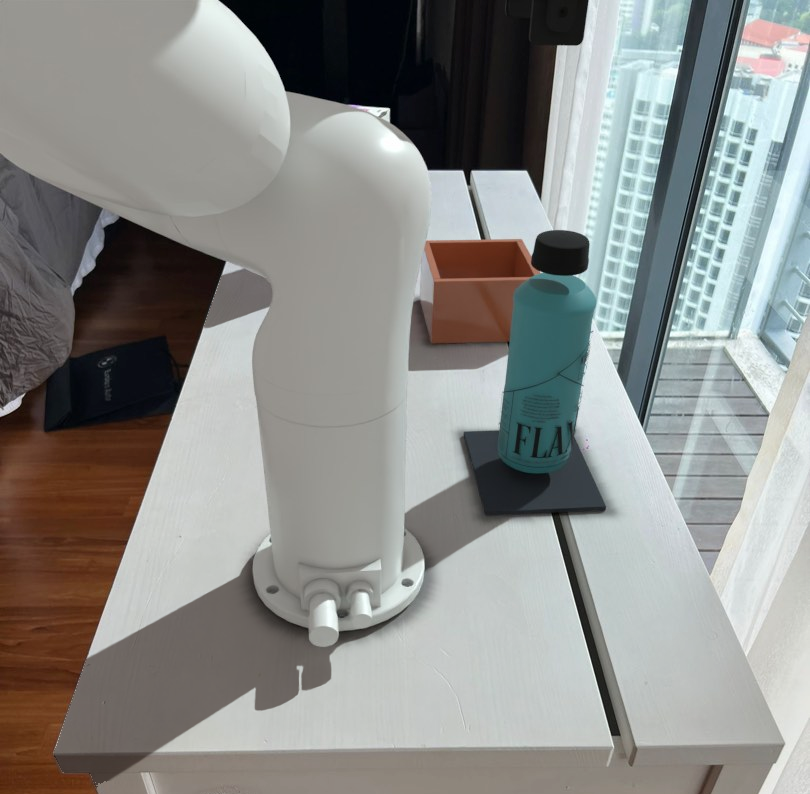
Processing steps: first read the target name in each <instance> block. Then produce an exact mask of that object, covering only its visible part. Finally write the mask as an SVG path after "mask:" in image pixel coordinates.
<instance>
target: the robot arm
mask: <svg viewBox="0 0 810 794" xmlns="http://www.w3.org/2000/svg"><path fill="white" fill-rule="evenodd" d="M589 2H590V1H589V0H505V2H504V3H505V4H504V13H505V15H506V16H507V17H508V18H510V19H529V20H530V21H529V30H528V40H529V42H530V43H531V44H532V45H534V46H564V47H565V46H570V47H571V46H572V47H573V46H574V47H576V46H580V45H581V44H583V41H584V38H585V31H586V23H587V18H588V17H587V16H588V9H589ZM280 76H281V75H280V74H279V71H278V69H277V68H276V65H275V64H274V61H273V60H272V58H271V57H270V55H269V53H268V52H267V51H266V48H265V46H263V44H262V43H261V42H260V40H259V38H257V36H256V35H255V34H254V33H253V32H252V31H251V30H250V29H249V28H248V27H247V25H245V24H244V22H242V20H241V19H240V18H239V17H238V15H236V14H235V13H234V12H233V11H232V10H231V9H230V8H228V6H227V5H225V4H224V3H223V2H221V1H220V0H0V154H1V155H2V156H3V157H4V158H5V159H6V160H8V161H9V162H11V163H12V164H13V165H15V166H16V167H18V168H20V170H22V171H25V172H26V173H27V174H30V175H31V176H33V177H35V178H38V179H39V180H41V181H43V182H45V183H48V184H50V185H52V186H54V187H56V188H58V189H60V190H63V191H64V192H67V193H69V194H71V195H73V196H75V197H78V198H80V199H82V200H84V201H86V202H88V203H91V204H93V205H94V206H97V207H99V208H101V209H104V210H106V211H108V212H110V213H113V214H115V215H117V216H119V217H121V218H123V219H126V220H128V221H130V222H132V223H134V224H136V225H138V226H141V227H143V228H145V229H148V230H150V231H152V232H154V233H156V234H159V235H161V236H163V237H166V238H167V239H169V240H171V241H175V242H176V243H179V244H181V245H183V246H186V247H188V248H191V249H193V250H196V251H199V252H201V253H202V254H205V255H209V256H210V257H214V258H216V259H218V260H222V261H224V262H226V263H229V264H232V265H234V266H238V267H240V268H243V269H245V270H247V271H249V272H250V273H253V274H255V275H258V276H260V277H261V278H264V279H265V280H266V281H268V282H269V284H270V287H271V291H272V297H271V300H270V304H269V308H268V310H267V312H266V314H265V316H264V318H263V319H262V322H261V323H260V325H259V328H258V330H257V333H256V334H255V338H254V341H253V347H252V354H251V367H252V368H251V369H252V380H253V390H254V391H253V392H254V395H255V402H256V410H257V421H258V422H257V423H258V430H259V431H258V432H259V438H260V439H259V440H260V448H261V457H262V466H263V467H262V468H263V477H264V485H265V494H266V503H267V505H266V506H267V513H268V522H269V523H268V524H269V531H270V533H269V534H268V535H266V536H265V537H264V539H262V540H261V541H262V542H261V543H260V545H259V546H258V547H257V549H256V551H255V554H254V557H253V560H252V579H253V585H254V587H255V590H256V593H257V595H258V597H259V598H260V600H261V601H262V603H263V604H264V605H265V606H266V607H267V608H268V609H269V610H270V611H271V612H272V613H274V614H275V615H276V616H278V617H280V618H282V620H285V621H287V622H289V623H291V624H294V625H296V626H300V627H303V628H306V629H308V640H309V641H308V642H310V643H311V644H312V645H313V646H316V647H318V648H327V647H329V646H330V647H331V646H333V645H334V644H335V643H337V642H338V640H339V637H340V635H339V634H340V633H339V632H344V631H345V632H347V631H356V630H360V629H361V630H362V629H367V628H369V627H373V626H376V625H379V624H381V623H383V622H386V621H388V620H389V619H392V618H393V617H395V616H397V615H398V614H400V613H402V611H403V610H405V609H406V608H407V607H408V606H410V605H411V604H412V603H413V601H414V600H415V599H416V597H417V595H418V594H419V593H420V592H421V591H420V590H421V588H422V586H423V584H424V577H425V569H426V568H425V556H424V553H423V550H422V549H423V548H422V546H421V545H420V543H419V542H418V540H417V538H416V537H415V536H414V535H413V534H412V533H411V532H410V530H408V529H407V528H406V527H405V513H406V511H405V509H406V507H405V505H406V502H405V501H406V469H407V467H406V466H407V464H406V463H407V428H408V427H407V425H408V423H407V422H408V390H409V389H408V388H409V387H408V386H409V385H408V384H409V358H410V357H409V355H410V338H411V337H410V335H411V325H412V314H413V306H414V299H415V294H416V293H415V292H416V287H417V282H418V277H419V273H420V270H421V260H422V256H423V252H424V247H425V243H426V241H427V240H428V235H429V228H430V224H431V217H432V207H433V190H432V182H431V177H430V173H429V171H428V166H427V164H426V161H425V160H424V157H423V156H422V154H421V152H420V151H419V149H418V147H416V145H415V144H414V142H413V141H412V140H411V139H410V138H409V137H408V136H407V135H406V134H405V133H404V132H403V131H401V129H399V128H398V127H397V126H396V125H394V124H392V123H391V122H390V123H389V122H388V121H386V120H384V119H382V118H380V117H378V116H376V115H374V114H372V113H369V112H367V111H365V110H361V109H358V108H355V107H352V106H349V105H350V104H345V103H340V102H337V101H333V100H328V99H323V98H319V97H316V96H311V95H307V94H306V95H305V94H301V93H296V92H291V91H286V90H285V86H284V84H283V80H282V79H281V77H280Z"/></svg>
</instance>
